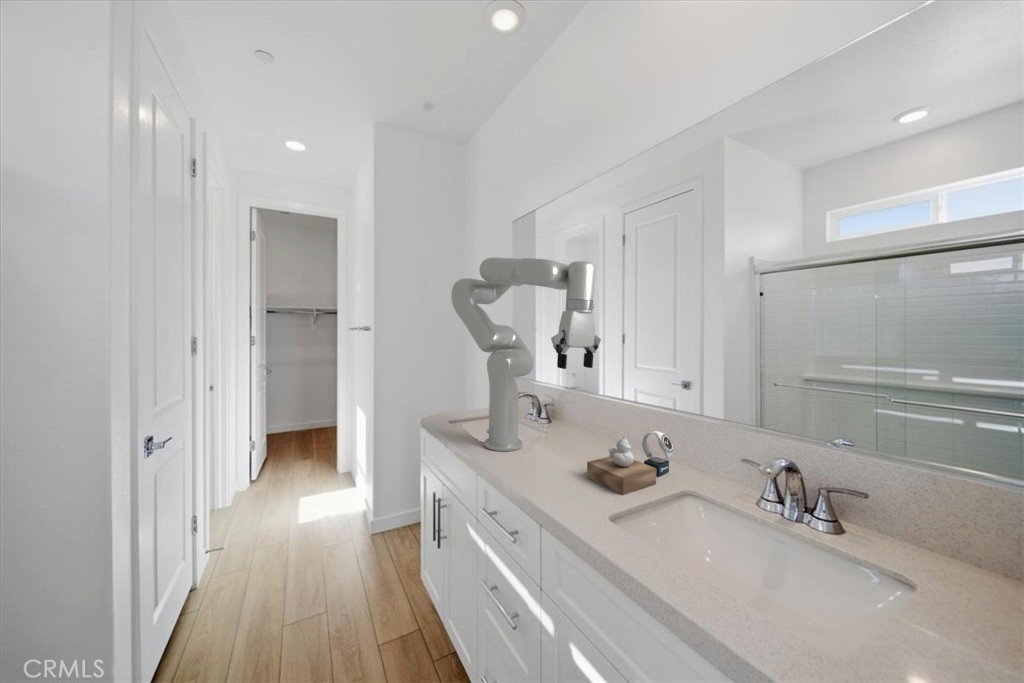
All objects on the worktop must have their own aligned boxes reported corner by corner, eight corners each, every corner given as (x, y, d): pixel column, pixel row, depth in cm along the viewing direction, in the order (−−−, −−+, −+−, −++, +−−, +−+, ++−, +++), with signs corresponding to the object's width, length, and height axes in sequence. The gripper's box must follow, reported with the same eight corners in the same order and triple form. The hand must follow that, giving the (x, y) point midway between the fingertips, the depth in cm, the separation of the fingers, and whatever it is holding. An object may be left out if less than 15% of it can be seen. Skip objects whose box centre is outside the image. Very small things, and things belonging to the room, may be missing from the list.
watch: (666, 479, 94) (667, 437, 94) (637, 470, 100) (638, 430, 100) (676, 474, 98) (677, 433, 98) (647, 465, 104) (649, 427, 104)
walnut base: (586, 476, 95) (587, 461, 95) (618, 468, 102) (619, 454, 101) (623, 495, 85) (623, 478, 85) (656, 484, 91) (656, 468, 91)
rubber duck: (628, 471, 89) (629, 439, 89) (603, 464, 93) (604, 433, 93) (637, 465, 93) (638, 434, 93) (613, 459, 97) (613, 429, 97)
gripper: (592, 308, 109) (588, 365, 111) (546, 304, 100) (542, 366, 101) (611, 309, 103) (606, 369, 104) (563, 304, 94) (559, 370, 95)
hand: (575, 367), depth 103 cm, fingers open, 9 cm apart
